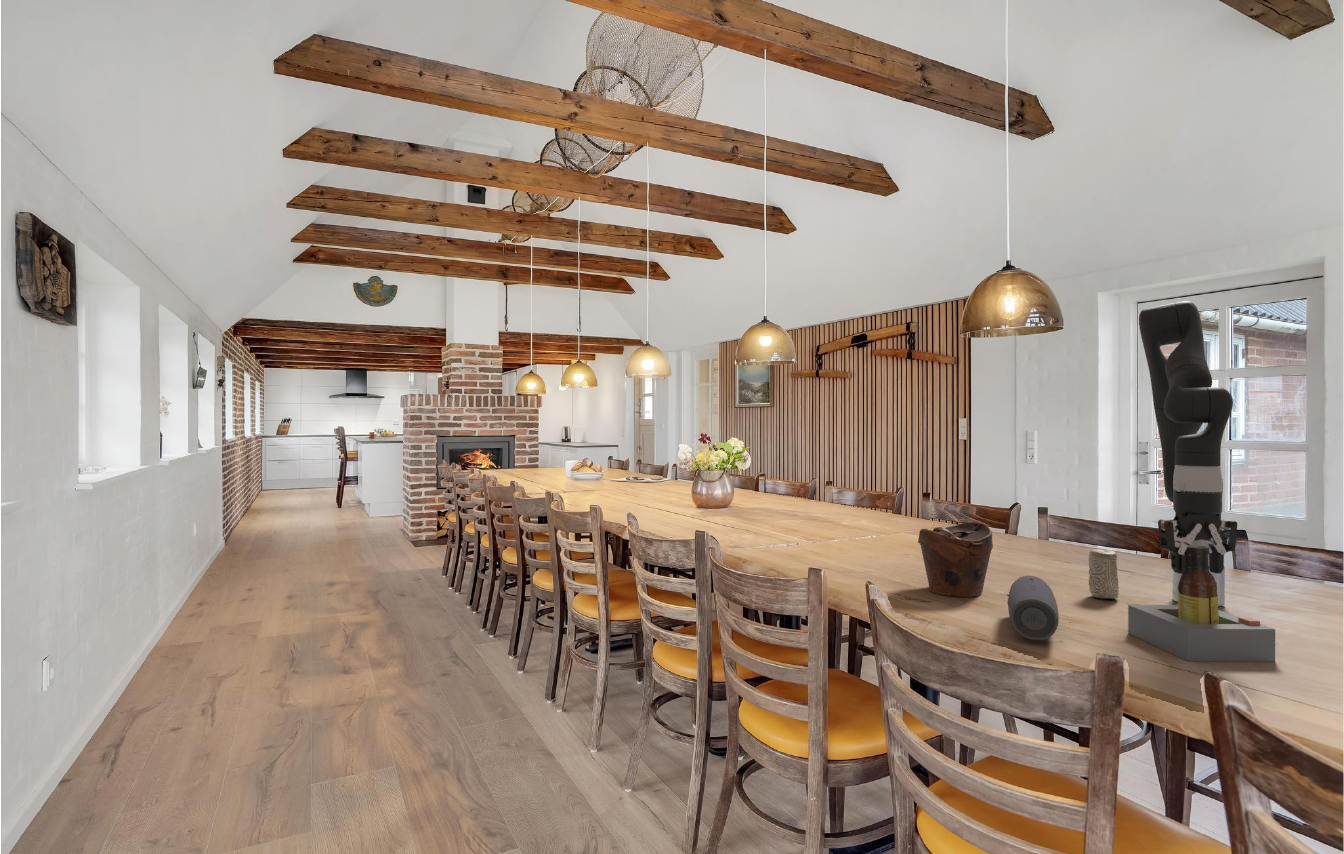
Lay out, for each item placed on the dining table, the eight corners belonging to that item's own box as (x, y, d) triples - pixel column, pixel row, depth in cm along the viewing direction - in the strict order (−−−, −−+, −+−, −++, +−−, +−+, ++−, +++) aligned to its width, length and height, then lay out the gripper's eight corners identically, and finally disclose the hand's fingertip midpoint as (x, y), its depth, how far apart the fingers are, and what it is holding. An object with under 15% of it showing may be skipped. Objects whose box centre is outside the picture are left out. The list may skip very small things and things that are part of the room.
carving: (1110, 594, 167) (1110, 548, 167) (1125, 602, 160) (1125, 554, 159) (1083, 593, 168) (1083, 547, 168) (1096, 601, 161) (1096, 553, 161)
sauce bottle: (1204, 642, 131) (1204, 543, 131) (1227, 652, 125) (1228, 549, 125) (1169, 640, 131) (1170, 542, 132) (1191, 650, 125) (1191, 548, 125)
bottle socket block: (1205, 633, 136) (1205, 601, 136) (1275, 661, 120) (1275, 624, 120) (1128, 633, 136) (1128, 601, 136) (1187, 661, 120) (1187, 624, 120)
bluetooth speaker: (1007, 613, 150) (1007, 570, 150) (1054, 619, 146) (1054, 575, 146) (1007, 642, 130) (1007, 593, 130) (1061, 650, 126) (1061, 599, 126)
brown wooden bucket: (908, 594, 167) (909, 524, 167) (927, 579, 184) (928, 516, 183) (984, 606, 157) (985, 532, 157) (997, 589, 173) (998, 523, 173)
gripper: (1218, 486, 131) (1218, 568, 132) (1146, 486, 132) (1146, 568, 132) (1250, 490, 124) (1250, 577, 124) (1175, 490, 124) (1174, 577, 124)
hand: (1197, 572), depth 128 cm, fingers open, 6 cm apart
